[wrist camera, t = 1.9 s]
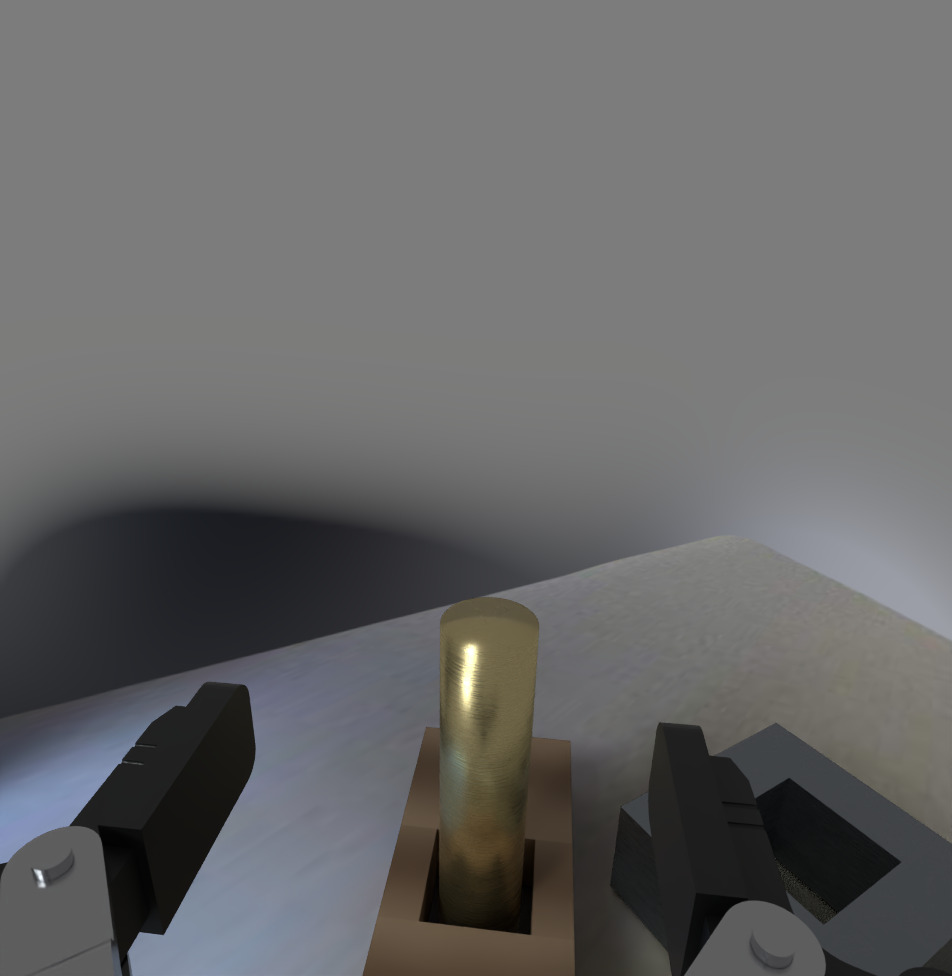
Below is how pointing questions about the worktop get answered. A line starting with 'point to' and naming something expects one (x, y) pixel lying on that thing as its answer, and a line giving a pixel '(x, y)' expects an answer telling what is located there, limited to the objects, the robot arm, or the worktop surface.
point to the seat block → (824, 858)
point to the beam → (546, 867)
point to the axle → (484, 759)
